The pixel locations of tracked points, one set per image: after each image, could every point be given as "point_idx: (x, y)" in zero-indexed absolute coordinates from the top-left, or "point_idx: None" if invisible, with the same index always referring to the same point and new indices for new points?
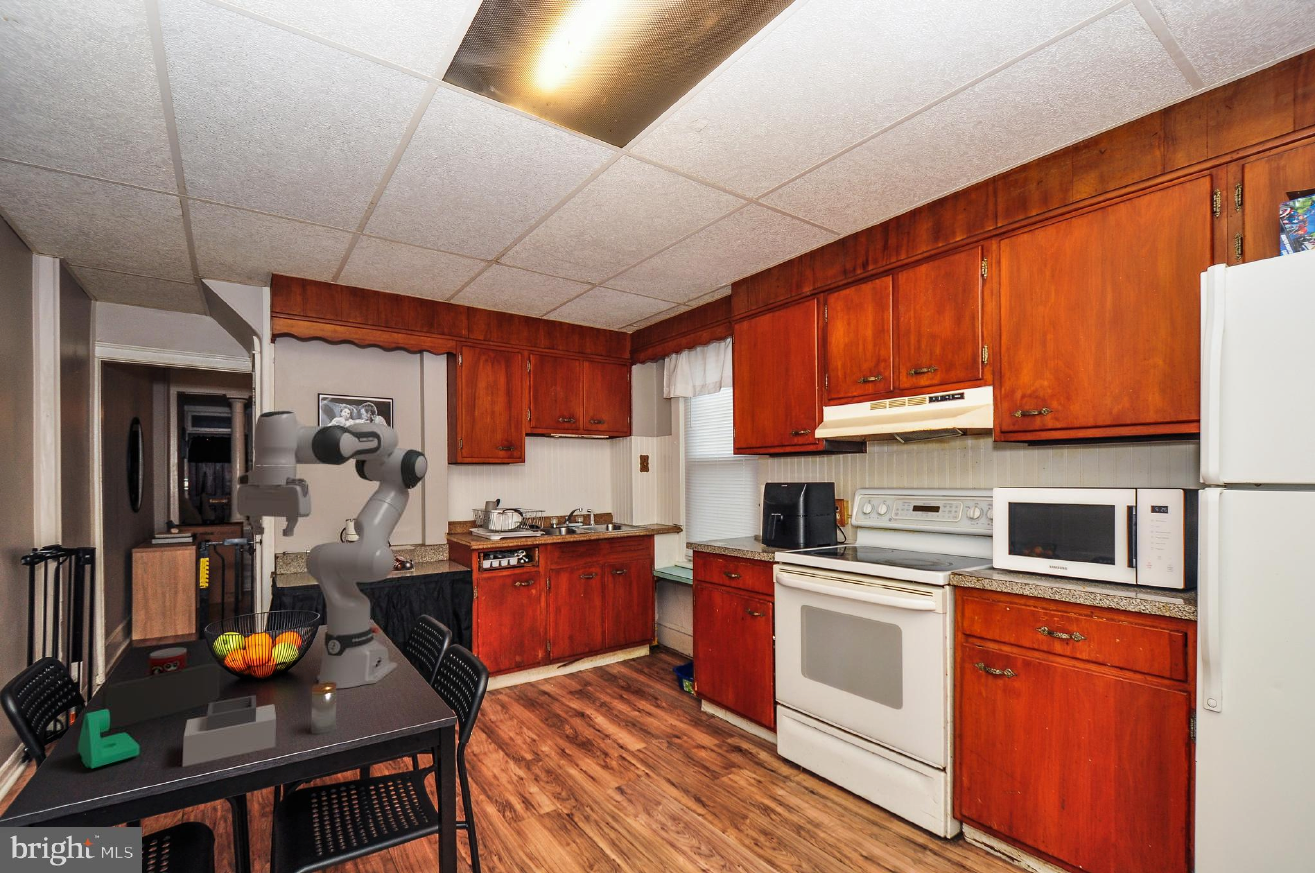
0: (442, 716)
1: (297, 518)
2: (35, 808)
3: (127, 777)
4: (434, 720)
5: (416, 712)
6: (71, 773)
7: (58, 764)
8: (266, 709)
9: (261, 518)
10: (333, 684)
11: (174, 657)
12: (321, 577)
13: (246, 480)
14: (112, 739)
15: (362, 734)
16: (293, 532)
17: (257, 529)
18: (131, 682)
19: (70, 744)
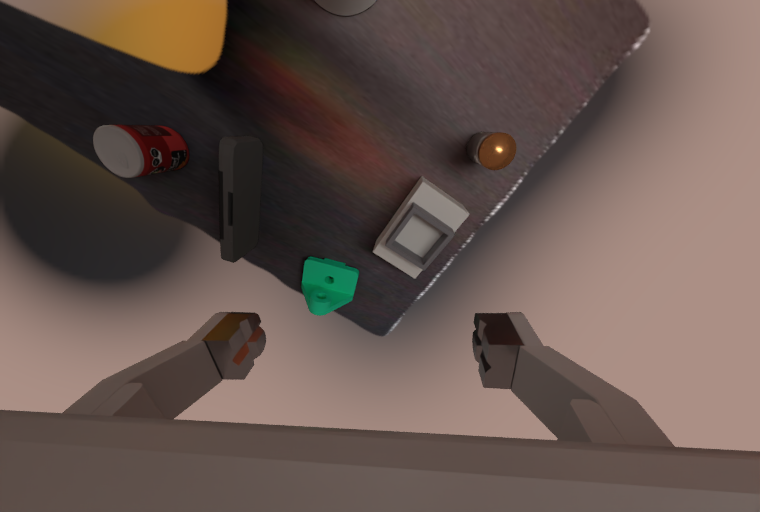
0: (643, 20)
1: (660, 439)
2: (381, 332)
3: (390, 290)
4: (635, 43)
5: (585, 28)
6: None
7: None
8: (430, 198)
9: (136, 397)
10: (508, 141)
11: (144, 155)
12: None
13: None
14: (315, 271)
15: (545, 136)
16: (530, 325)
17: (249, 371)
18: (232, 243)
19: (270, 271)
